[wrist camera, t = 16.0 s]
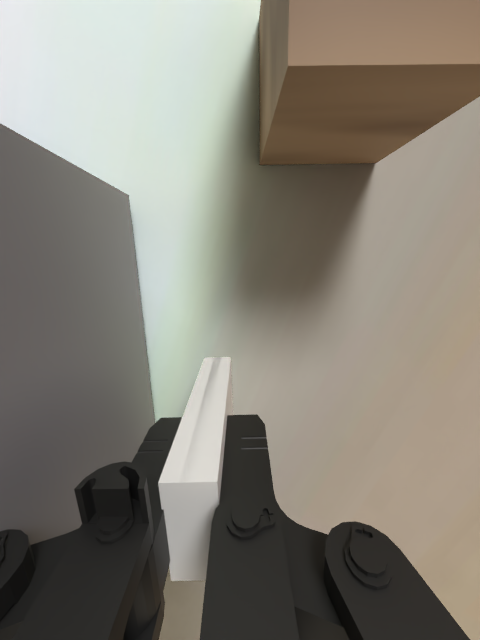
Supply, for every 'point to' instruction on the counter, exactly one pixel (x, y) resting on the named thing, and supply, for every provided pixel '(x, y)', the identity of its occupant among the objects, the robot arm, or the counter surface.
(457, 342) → the counter surface
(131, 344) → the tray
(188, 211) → the counter surface
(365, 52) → the brown wooden block
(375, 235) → the counter surface
